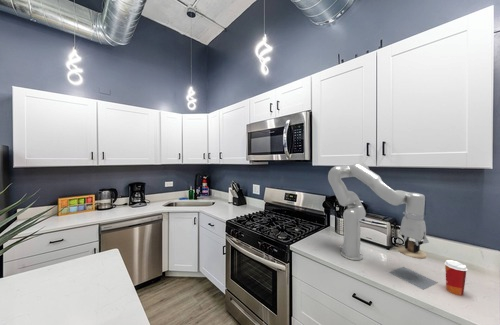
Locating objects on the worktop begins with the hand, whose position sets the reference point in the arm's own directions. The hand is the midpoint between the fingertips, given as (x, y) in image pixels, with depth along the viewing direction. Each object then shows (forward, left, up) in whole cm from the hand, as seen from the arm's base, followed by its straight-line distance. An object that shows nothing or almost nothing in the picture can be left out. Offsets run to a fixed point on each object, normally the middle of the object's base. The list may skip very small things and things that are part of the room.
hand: (411, 249), depth 106 cm
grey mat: (+1, 0, -15) cm, 15 cm away
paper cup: (+15, +6, -15) cm, 22 cm away
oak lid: (0, 0, -2) cm, 2 cm away
